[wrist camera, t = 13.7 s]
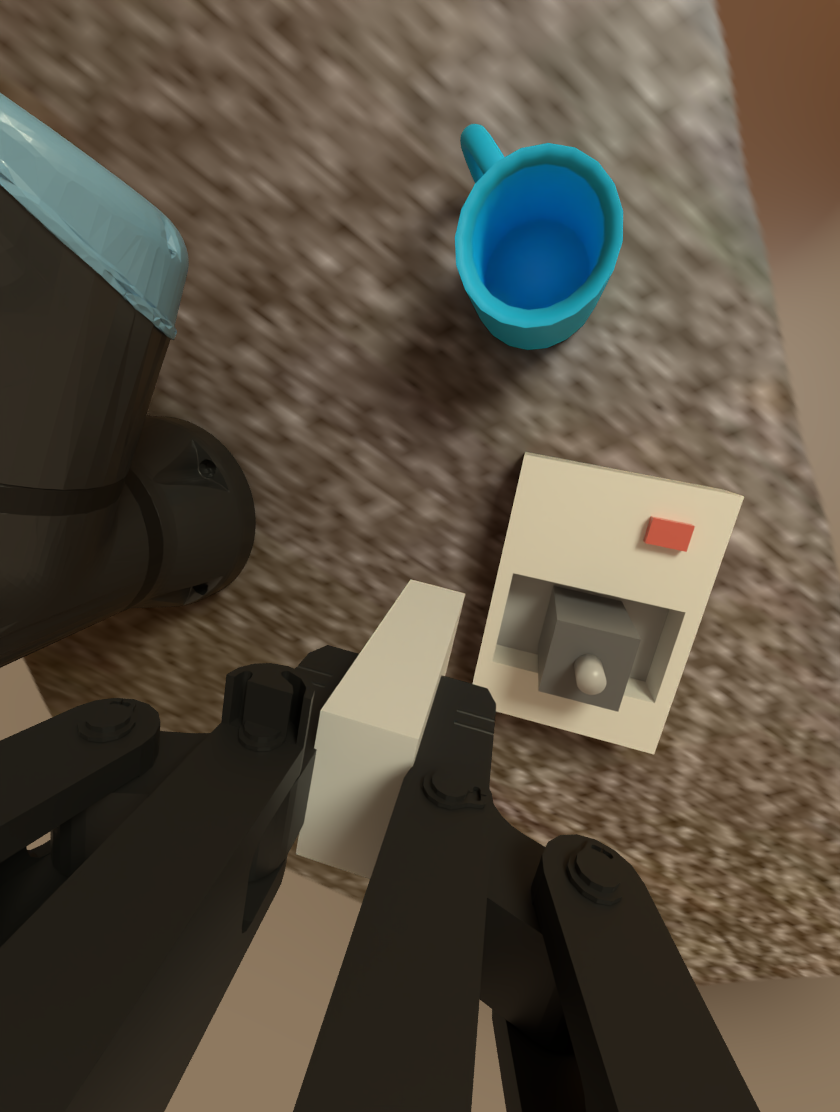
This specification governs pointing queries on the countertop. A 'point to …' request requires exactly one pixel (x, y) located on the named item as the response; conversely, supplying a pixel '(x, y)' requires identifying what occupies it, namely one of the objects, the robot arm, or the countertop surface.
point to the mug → (535, 238)
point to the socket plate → (604, 586)
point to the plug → (586, 648)
